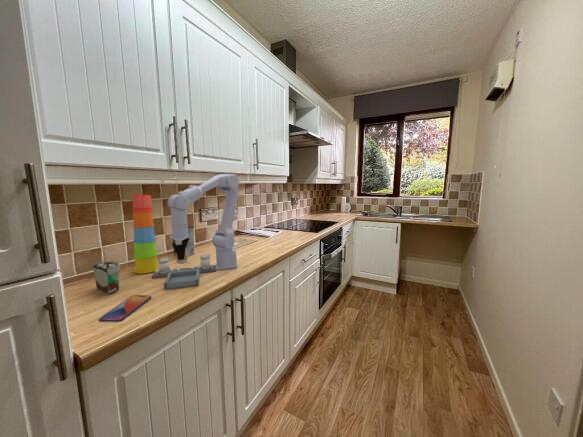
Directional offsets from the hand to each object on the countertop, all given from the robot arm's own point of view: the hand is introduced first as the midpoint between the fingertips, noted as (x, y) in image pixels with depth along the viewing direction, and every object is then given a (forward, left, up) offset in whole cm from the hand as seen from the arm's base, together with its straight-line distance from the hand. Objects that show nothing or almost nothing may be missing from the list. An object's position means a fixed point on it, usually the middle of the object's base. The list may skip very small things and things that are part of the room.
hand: (181, 257), depth 99 cm
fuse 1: (+8, -10, -9) cm, 16 cm away
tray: (0, +1, -10) cm, 10 cm away
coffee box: (+3, -38, -10) cm, 39 cm away
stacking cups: (+17, -18, -10) cm, 26 cm away
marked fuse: (0, 0, -2) cm, 2 cm away
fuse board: (0, -10, -10) cm, 14 cm away
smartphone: (+15, +18, -10) cm, 26 cm away
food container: (+25, 0, -10) cm, 27 cm away
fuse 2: (-9, -10, -9) cm, 16 cm away
